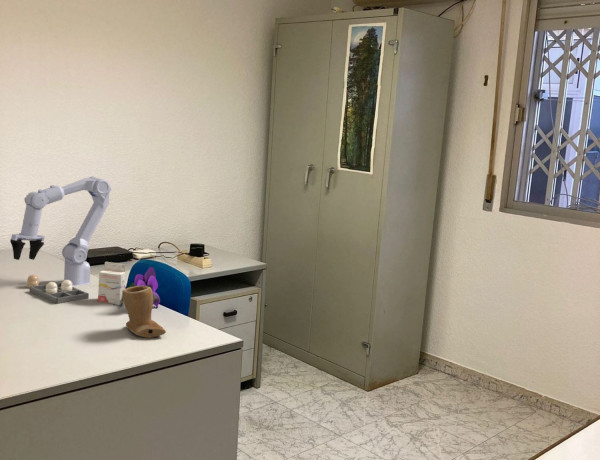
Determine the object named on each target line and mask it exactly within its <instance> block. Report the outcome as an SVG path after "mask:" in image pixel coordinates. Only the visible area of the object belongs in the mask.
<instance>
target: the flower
mask: <svg viewBox="0 0 600 460" xmlns="http://www.w3.org/2000/svg"><path fill="white" fill-rule="evenodd" d="M156 278H157V275H156V271H155V268H154V267H152V266H151V267H148V269H147V271H146V272H145V274H144V275H143V274H141V273H139V274H136V275H135V278H134V282H131V283H130V284H129V286H128V287H127V288H129V287H135V286H147V287H150V288H151V289H152V292H153V306H154V307H156V308H157V309H158V308H159V304H160V303H161V299H160V296H159V294H158V293H157V292H156V290H157V289H158V286H159V284H158V281H157V280H158V279H156ZM122 301H123V297H122Z"/></svg>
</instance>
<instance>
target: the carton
mask: <svg viewBox="0 0 600 460" xmlns="http://www.w3.org/2000/svg"><path fill="white" fill-rule="evenodd" d="M55 283H56V284H57V293H52V294H47V293H46V285H47V284H48V283H46V284H39V285H38V286H31V287H30V289H29V292H30V293H31V294H34V295H36V296H37V297H39V298H42V299H44V300H46V301H49V302H51V303H53V304H55V305H58V304H60V305H61V304H66V303H71V302H76V301H77V302H78V301H83V300H84V301H85V300H89V297H90V296H89V295H90V293H89V292H86V291H85V290H81V289H79V288H77V287H75V286H72V290H71V291H65V292H64V291H61V283H62V281H58V282H55Z"/></svg>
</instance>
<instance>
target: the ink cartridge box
mask: <svg viewBox="0 0 600 460" xmlns="http://www.w3.org/2000/svg"><path fill="white" fill-rule="evenodd" d="M114 266H116V267H114ZM126 274H127V273H126V264H125V263H119V262H112V261H111V262H109V261H105V262H104V269H103V270H101V271H99V274H98V290H97V291H98V292H97V294H98V295H97V302H99V303H107V304H112V305H113V306H120V305H122V304H123V301H122V297H123V296H122V293H123V290H124V289H126V276H127V275H126Z"/></svg>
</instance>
